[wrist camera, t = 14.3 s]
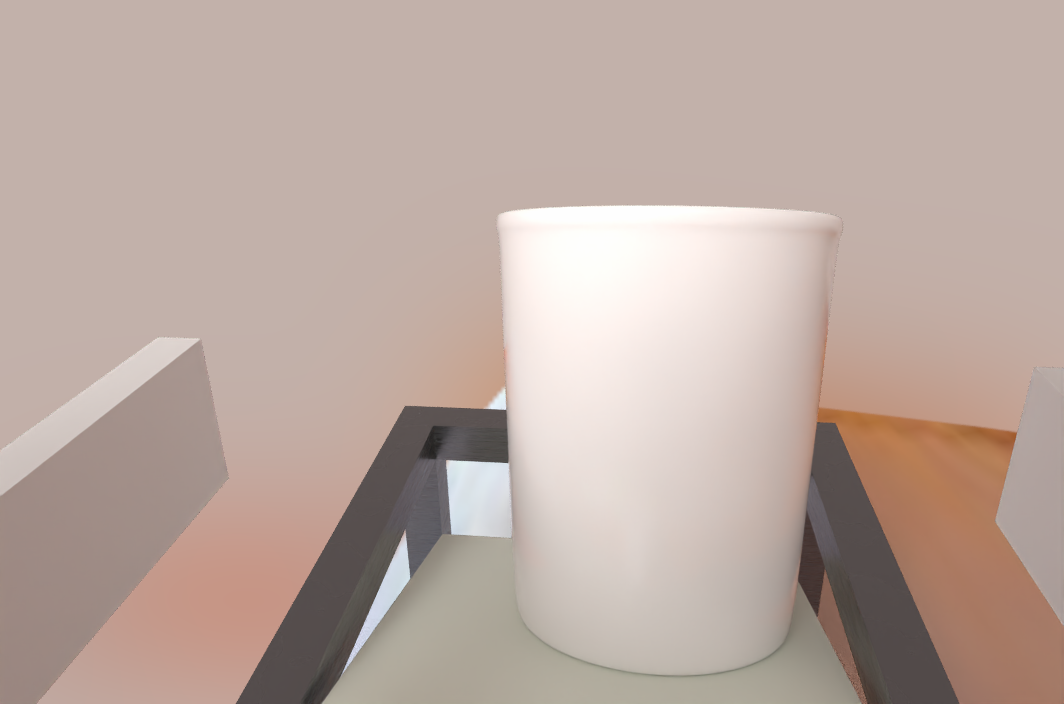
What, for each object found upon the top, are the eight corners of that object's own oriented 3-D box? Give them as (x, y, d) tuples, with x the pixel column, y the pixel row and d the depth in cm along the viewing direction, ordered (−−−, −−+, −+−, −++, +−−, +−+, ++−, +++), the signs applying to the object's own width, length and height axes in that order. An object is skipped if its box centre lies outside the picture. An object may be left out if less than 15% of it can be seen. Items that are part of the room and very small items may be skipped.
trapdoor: (782, 580, 30) (784, 554, 30) (905, 841, 17) (909, 795, 17) (442, 558, 32) (442, 534, 32) (297, 781, 18) (296, 738, 18)
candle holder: (518, 546, 31) (524, 223, 29) (789, 565, 29) (807, 227, 28) (456, 675, 21) (461, 203, 20) (855, 713, 20) (887, 206, 18)
